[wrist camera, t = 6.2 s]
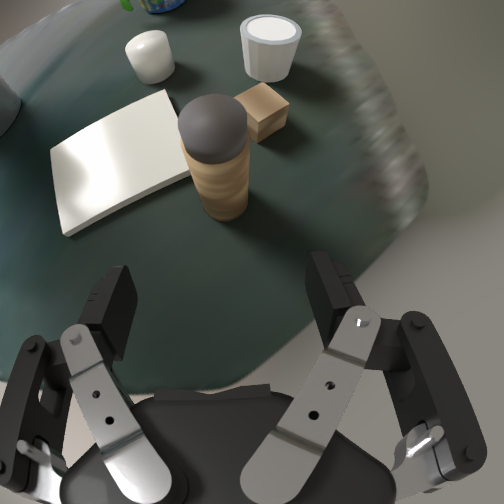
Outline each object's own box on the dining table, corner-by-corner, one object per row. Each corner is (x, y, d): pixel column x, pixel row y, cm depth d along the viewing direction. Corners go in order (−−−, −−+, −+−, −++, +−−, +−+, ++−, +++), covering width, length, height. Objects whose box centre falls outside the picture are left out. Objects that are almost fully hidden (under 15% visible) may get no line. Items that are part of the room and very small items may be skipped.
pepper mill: (213, 228, 27) (188, 162, 15) (195, 190, 28) (165, 107, 15) (255, 210, 28) (264, 133, 15) (236, 172, 29) (232, 83, 16)
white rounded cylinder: (145, 90, 31) (132, 61, 25) (132, 71, 32) (120, 44, 26) (181, 71, 31) (173, 41, 26) (165, 53, 32) (157, 25, 27)
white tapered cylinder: (281, 93, 31) (289, 51, 24) (230, 75, 31) (228, 34, 24) (301, 62, 32) (309, 24, 25) (254, 47, 33) (256, 9, 26)
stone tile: (68, 236, 27) (62, 234, 26) (54, 154, 29) (50, 149, 28) (200, 170, 29) (198, 165, 27) (166, 95, 31) (164, 89, 29)
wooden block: (256, 143, 29) (258, 122, 26) (233, 121, 30) (232, 98, 26) (284, 125, 30) (289, 103, 26) (261, 104, 31) (263, 81, 27)
